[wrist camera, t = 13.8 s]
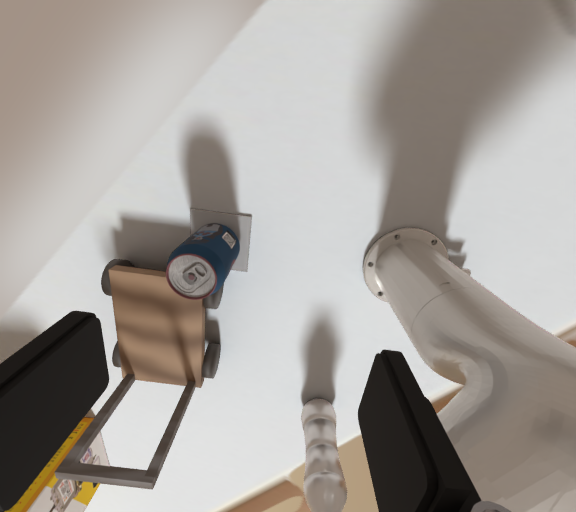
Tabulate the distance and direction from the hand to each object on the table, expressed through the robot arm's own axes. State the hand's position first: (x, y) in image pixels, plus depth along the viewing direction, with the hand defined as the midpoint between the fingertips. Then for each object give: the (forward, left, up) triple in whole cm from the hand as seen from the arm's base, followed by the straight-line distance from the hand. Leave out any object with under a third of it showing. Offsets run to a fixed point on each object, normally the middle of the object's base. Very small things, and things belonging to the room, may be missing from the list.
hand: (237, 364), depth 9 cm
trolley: (+16, +22, -32) cm, 42 cm away
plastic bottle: (-12, +40, -32) cm, 53 cm away
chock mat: (+9, +8, -32) cm, 34 cm away
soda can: (+9, +8, -32) cm, 34 cm away
